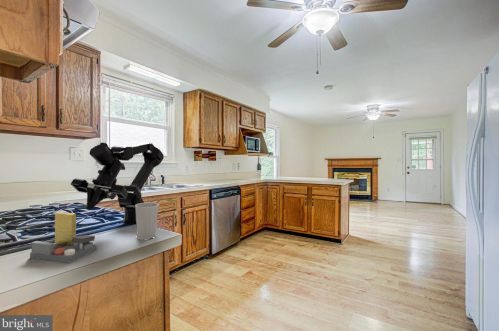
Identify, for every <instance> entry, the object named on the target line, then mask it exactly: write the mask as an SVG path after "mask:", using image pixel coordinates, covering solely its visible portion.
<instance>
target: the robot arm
mask: <svg viewBox="0 0 499 331" xmlns="http://www.w3.org/2000/svg"><path fill="white" fill-rule="evenodd" d="M139 154H141V156H143V161H144V163H143V164H142V166H141V167H140V169H139V171H138V172H137V173H136V175H135V177H134V179H133V180H132V182H131V183H130V184H129V185H126V184H125V185H121V184H117V183H118V182H117V181H118V179H117V177H118V176H119V173H120V171H125V170H126V166H125V163H123V162H124V161H127V162H128V161H129V160H131V159H133V158H134V156H136V155H139ZM89 155H90V156H91V157H92V158H93V160H95V161H96V163H97V164H99V166H101V167H102V166H103V167H102V169H98V170H97V174H98V175H97V176H96V178H93V179H91V180H92V181H91V182H92V183H90V182H88V180H86V179H82V178H73V179H72V180H71V182H70V185H71V186H72V187H73V188H74V189H75V190H76V191H77V192H78V193H84V194H86V211H91V210H92V209H93V208H94V207H96V206H97V205H98V204H99V203H100V202H102V201H103V200H106V199H109V200H114V199H115V198H116V197H117V201H118V205H119V208H121V209H122V208H124V211H123V212H124V216H123V217H124V218H122V219H123V221H122V224H132V223H136V209H135V205H136V204H139V203H145V201H144V200H143V198H142V197H143V196H142V188H144V185H145V184H146V182H147V181H148V179H149V177H150V176H151V173H153V170H154V168H156V167H158V166H159V165H161V163H162V162H163V161H164V158H165V157H164V155H165V154H163V152H162V151H161V150H160V148H158V147H157V146H155V145H154V143H152V142H144V141H143V142H140V143H135V144H133V145H128V146H125V145H124V146H122V145H119V146H118V145H113V146H112V147H110V146H109V145H108V144H107V143H106V142H100V143H99V144H97V145H95V146H93V147H91V148H90V150H89ZM121 161H123V162H121Z"/></svg>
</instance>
